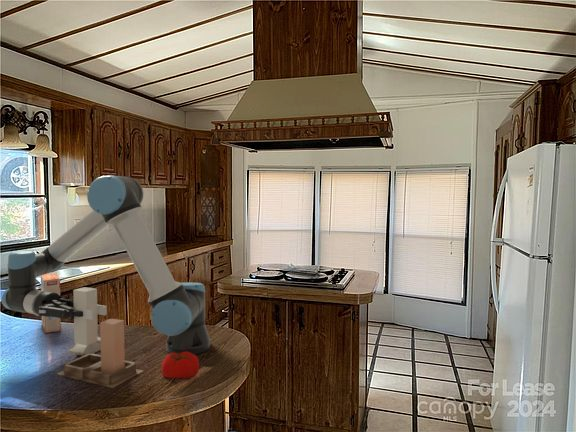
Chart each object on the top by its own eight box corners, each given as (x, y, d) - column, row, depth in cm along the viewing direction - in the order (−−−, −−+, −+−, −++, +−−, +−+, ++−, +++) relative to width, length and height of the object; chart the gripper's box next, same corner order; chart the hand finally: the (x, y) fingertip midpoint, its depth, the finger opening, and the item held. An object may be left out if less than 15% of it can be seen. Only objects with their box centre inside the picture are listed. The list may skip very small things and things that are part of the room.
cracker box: (62, 331, 164) (60, 278, 163) (44, 334, 160) (42, 280, 159) (58, 321, 175) (56, 272, 174) (41, 324, 172) (39, 274, 171)
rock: (47, 359, 138) (80, 363, 132) (47, 345, 138) (79, 348, 132) (100, 343, 157) (130, 345, 151) (100, 330, 157) (130, 332, 151)
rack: (55, 378, 123) (55, 365, 123) (89, 363, 134) (89, 351, 134) (112, 393, 114) (112, 379, 114) (143, 375, 125) (143, 362, 125)
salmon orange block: (111, 371, 125) (110, 318, 124) (124, 373, 123) (124, 320, 122) (101, 376, 121) (100, 322, 120) (114, 379, 119) (113, 324, 118)
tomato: (160, 372, 128) (160, 351, 127) (196, 367, 132) (196, 346, 131) (162, 386, 119) (162, 364, 118) (201, 380, 123) (201, 358, 122)
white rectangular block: (85, 338, 128) (84, 287, 127) (97, 341, 126) (97, 288, 125) (74, 342, 125) (73, 289, 124) (86, 345, 123) (85, 291, 122)
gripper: (67, 308, 140) (121, 317, 131) (17, 322, 124) (74, 334, 115) (67, 286, 139) (121, 293, 130) (16, 297, 124) (74, 307, 115)
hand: (99, 312), depth 123 cm, fingers closed on white rectangular block, 4 cm apart
